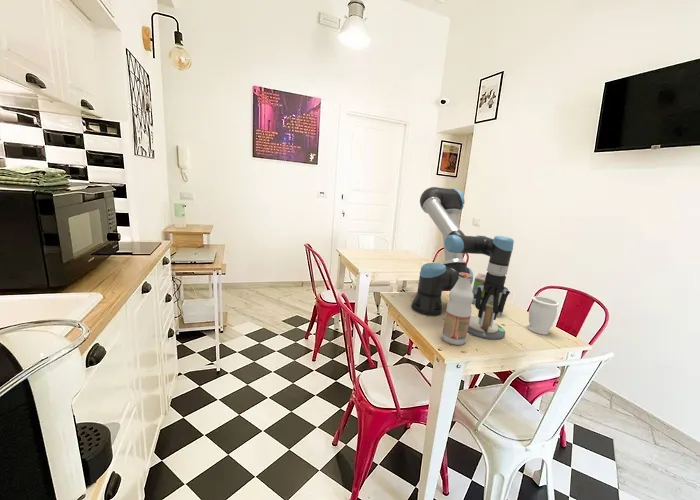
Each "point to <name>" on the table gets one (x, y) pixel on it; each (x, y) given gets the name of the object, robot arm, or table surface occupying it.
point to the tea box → (478, 282)
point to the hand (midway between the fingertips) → (484, 325)
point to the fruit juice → (458, 311)
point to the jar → (542, 314)
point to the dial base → (488, 334)
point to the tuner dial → (484, 322)
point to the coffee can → (490, 303)
